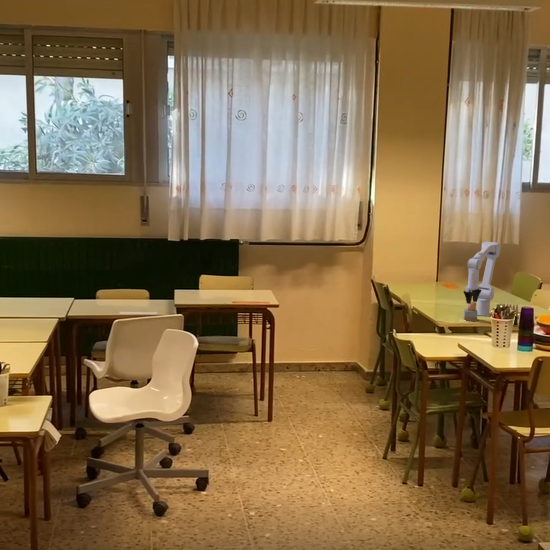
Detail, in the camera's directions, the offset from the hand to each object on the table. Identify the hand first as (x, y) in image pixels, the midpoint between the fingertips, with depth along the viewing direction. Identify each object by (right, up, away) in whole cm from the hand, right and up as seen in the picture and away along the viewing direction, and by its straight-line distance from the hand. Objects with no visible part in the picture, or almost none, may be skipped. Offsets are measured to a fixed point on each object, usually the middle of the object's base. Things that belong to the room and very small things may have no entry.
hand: (471, 302), depth 401 cm
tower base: (0, -11, +2) cm, 11 cm away
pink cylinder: (0, -4, +1) cm, 4 cm away
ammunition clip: (+18, -12, -7) cm, 23 cm away
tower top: (0, -8, +1) cm, 8 cm away
